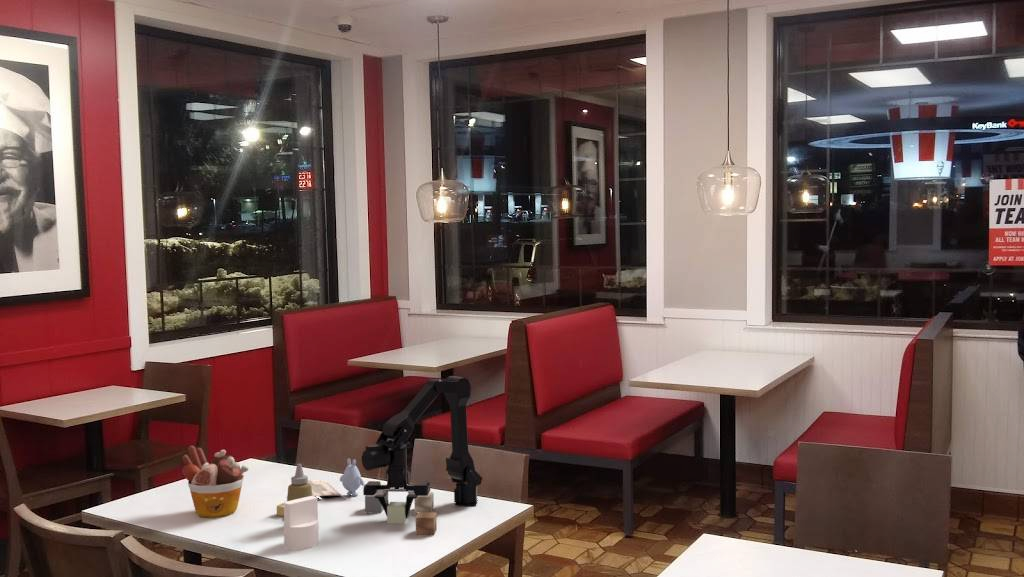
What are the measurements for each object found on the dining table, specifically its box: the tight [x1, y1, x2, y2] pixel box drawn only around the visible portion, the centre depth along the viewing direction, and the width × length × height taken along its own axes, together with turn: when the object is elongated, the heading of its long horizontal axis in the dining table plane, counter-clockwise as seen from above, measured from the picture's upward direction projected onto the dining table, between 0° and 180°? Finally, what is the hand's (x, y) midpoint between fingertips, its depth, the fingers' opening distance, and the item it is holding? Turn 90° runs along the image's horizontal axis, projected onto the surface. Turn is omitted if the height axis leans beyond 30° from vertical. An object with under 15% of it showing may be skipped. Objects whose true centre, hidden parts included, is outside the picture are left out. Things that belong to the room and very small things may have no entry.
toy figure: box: [339, 457, 365, 497], centre depth 287 cm, size 11×6×12 cm, turn 55°
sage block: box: [386, 501, 409, 525], centre depth 259 cm, size 5×5×5 cm
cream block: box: [413, 491, 435, 513], centre depth 270 cm, size 5×5×5 cm
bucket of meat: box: [181, 445, 249, 519], centre depth 269 cm, size 20×16×20 cm
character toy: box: [276, 502, 284, 517], centre depth 266 cm, size 8×3×8 cm
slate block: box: [364, 495, 384, 514], centre depth 271 cm, size 5×5×5 cm
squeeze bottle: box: [286, 463, 312, 502], centre depth 254 cm, size 8×8×18 cm
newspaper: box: [307, 479, 344, 501], centre depth 292 cm, size 23×12×2 cm, turn 25°
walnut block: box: [415, 511, 438, 536], centre depth 248 cm, size 5×5×5 cm
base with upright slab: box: [283, 496, 320, 551], centre depth 239 cm, size 9×9×12 cm
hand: (397, 517), depth 259 cm, fingers closed on sage block, 5 cm apart
